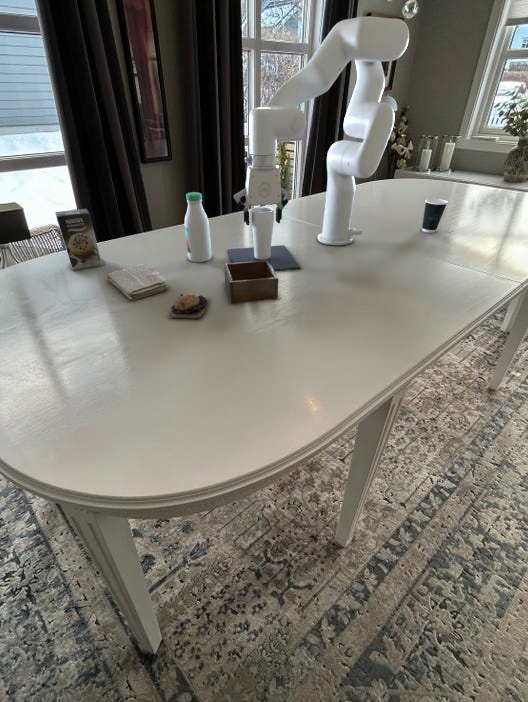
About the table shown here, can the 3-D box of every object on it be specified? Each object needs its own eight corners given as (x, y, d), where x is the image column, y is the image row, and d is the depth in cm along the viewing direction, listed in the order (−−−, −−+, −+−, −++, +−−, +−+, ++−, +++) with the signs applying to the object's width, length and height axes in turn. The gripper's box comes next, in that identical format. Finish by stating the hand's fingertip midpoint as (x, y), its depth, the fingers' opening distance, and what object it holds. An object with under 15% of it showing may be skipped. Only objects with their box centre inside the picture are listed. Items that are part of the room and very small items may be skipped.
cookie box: (72, 270, 114) (55, 216, 104) (70, 263, 118) (53, 211, 108) (103, 265, 117) (89, 212, 107) (100, 258, 121) (86, 207, 112)
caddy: (267, 279, 108) (267, 260, 104) (277, 299, 98) (278, 278, 94) (224, 283, 106) (223, 263, 102) (231, 303, 96) (229, 282, 92)
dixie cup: (428, 235, 140) (436, 204, 133) (413, 229, 145) (420, 199, 139) (444, 232, 142) (453, 202, 135) (428, 226, 148) (436, 197, 141)
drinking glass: (270, 262, 117) (271, 213, 108) (250, 260, 118) (249, 212, 109) (274, 254, 122) (275, 207, 113) (254, 253, 123) (254, 206, 114)
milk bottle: (215, 255, 123) (211, 191, 111) (205, 264, 117) (199, 197, 106) (194, 253, 125) (188, 189, 113) (184, 261, 120) (175, 195, 108)
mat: (284, 246, 130) (284, 245, 130) (300, 268, 114) (300, 267, 114) (228, 250, 127) (227, 249, 126) (236, 274, 111) (236, 272, 111)
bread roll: (201, 320, 89) (200, 307, 87) (167, 318, 90) (165, 305, 88) (210, 299, 98) (209, 287, 96) (179, 298, 99) (177, 285, 96)
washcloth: (131, 302, 97) (129, 292, 95) (105, 280, 108) (103, 270, 106) (171, 290, 103) (170, 279, 101) (143, 270, 114) (141, 260, 112)
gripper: (234, 164, 99) (236, 228, 109) (296, 162, 102) (292, 225, 112) (230, 160, 105) (233, 221, 115) (289, 157, 108) (286, 218, 118)
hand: (262, 223), depth 114 cm, fingers open, 9 cm apart
